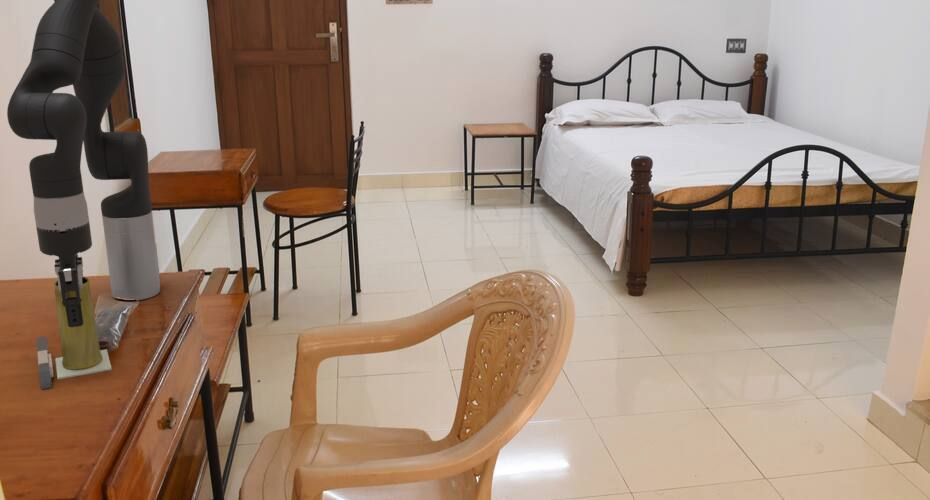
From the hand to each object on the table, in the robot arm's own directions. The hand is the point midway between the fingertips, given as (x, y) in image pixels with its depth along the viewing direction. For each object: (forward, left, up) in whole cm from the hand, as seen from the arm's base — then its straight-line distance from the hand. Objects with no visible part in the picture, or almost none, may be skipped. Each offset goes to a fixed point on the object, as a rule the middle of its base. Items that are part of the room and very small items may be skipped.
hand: (76, 315), depth 131 cm
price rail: (+3, -5, -9) cm, 10 cm away
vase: (0, 0, -9) cm, 9 cm away
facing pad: (0, 0, -9) cm, 9 cm away
